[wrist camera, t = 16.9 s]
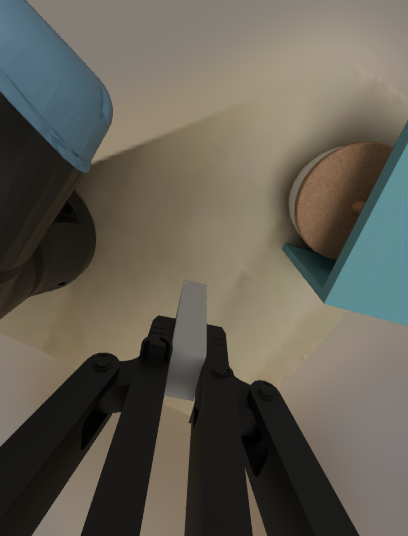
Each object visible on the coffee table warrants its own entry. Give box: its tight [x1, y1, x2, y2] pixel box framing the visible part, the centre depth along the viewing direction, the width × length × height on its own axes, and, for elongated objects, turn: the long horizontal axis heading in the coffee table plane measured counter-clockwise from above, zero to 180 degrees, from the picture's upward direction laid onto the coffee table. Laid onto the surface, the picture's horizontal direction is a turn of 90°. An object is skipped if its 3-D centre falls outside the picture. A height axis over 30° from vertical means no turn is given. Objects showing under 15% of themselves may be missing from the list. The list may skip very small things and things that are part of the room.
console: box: [282, 121, 408, 326], centre depth 26 cm, size 9×16×14 cm, turn 164°
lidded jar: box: [289, 142, 393, 260], centre depth 28 cm, size 11×11×9 cm
